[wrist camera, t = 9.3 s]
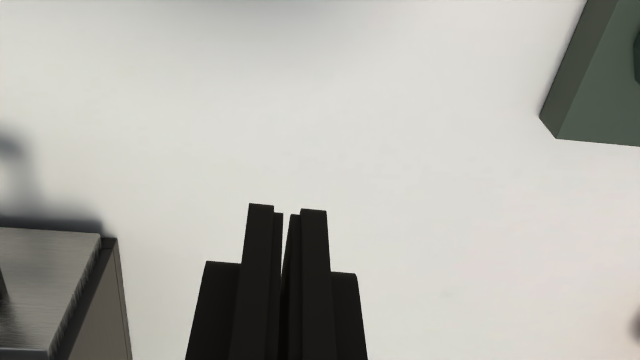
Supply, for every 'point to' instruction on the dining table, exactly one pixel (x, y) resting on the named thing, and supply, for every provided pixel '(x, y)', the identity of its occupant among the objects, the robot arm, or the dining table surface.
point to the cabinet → (99, 314)
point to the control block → (599, 78)
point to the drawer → (41, 288)
